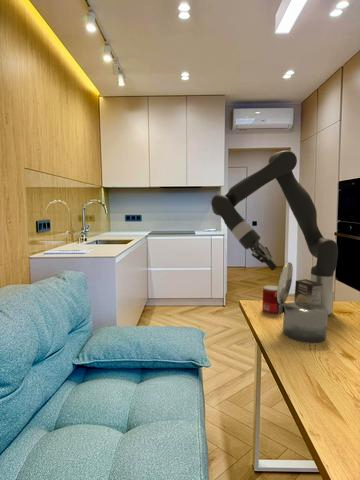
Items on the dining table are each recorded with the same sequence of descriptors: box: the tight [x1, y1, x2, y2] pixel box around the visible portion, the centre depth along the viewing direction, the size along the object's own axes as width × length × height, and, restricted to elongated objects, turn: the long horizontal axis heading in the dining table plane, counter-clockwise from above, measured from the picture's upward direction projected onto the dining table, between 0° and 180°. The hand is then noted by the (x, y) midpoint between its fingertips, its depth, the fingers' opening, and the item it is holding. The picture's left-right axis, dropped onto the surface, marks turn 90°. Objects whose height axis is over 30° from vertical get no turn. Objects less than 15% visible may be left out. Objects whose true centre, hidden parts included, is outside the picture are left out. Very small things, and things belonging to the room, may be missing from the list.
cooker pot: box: [278, 301, 329, 344], centre depth 121 cm, size 17×15×10 cm
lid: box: [274, 261, 294, 304], centre depth 124 cm, size 16×16×3 cm
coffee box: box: [293, 278, 322, 306], centre depth 136 cm, size 9×6×16 cm
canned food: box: [261, 284, 281, 315], centre depth 146 cm, size 8×8×11 cm
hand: (274, 268), depth 125 cm, fingers closed
